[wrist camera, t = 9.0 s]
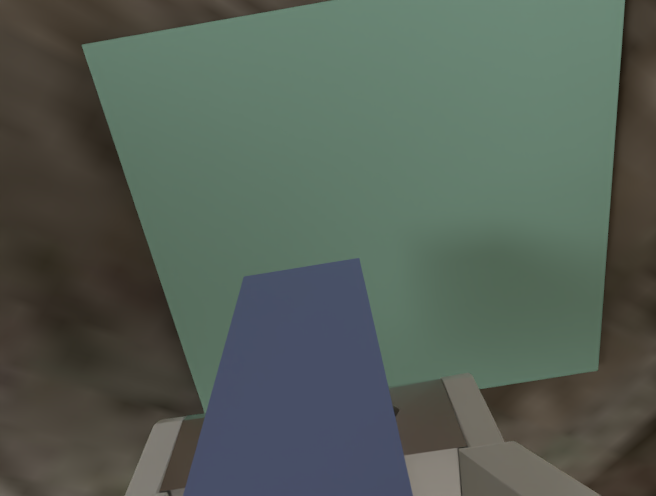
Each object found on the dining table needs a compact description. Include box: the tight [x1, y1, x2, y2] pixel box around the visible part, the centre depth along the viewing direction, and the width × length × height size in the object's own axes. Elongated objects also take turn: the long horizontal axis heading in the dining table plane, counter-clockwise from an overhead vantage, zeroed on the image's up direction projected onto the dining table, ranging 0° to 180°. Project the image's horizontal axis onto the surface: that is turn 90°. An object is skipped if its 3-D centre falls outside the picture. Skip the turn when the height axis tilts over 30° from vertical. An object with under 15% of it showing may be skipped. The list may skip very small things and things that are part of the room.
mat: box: [82, 0, 625, 413], centre depth 16 cm, size 15×14×1 cm
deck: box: [183, 258, 413, 496], centre depth 8 cm, size 4×2×7 cm, turn 9°
